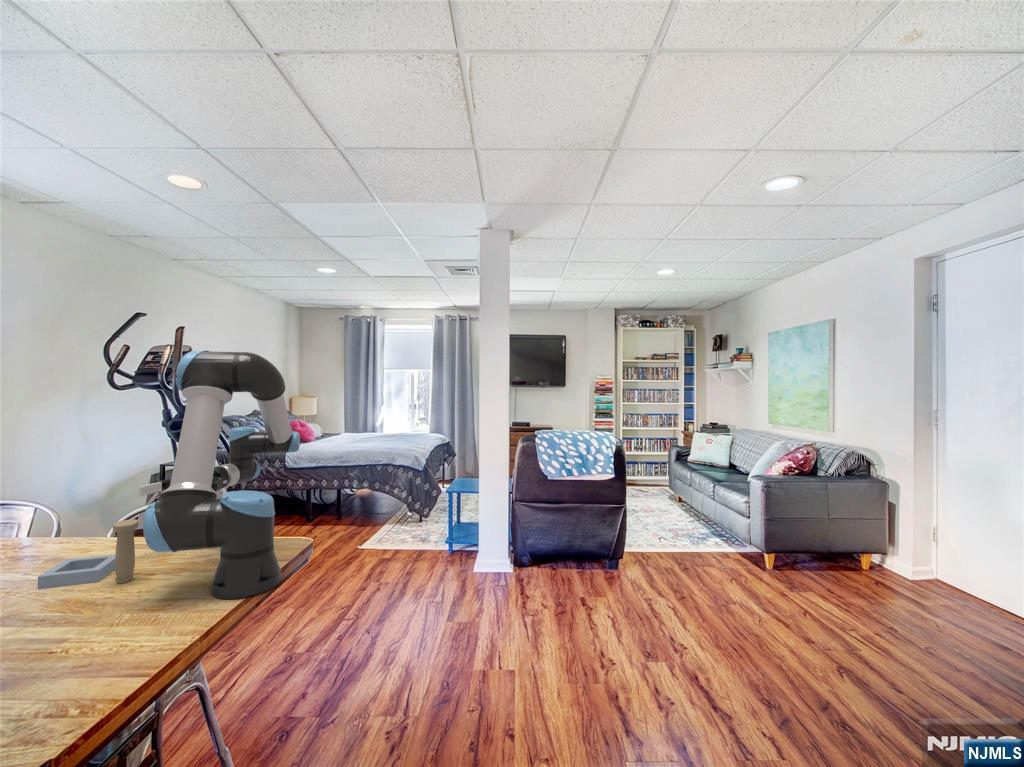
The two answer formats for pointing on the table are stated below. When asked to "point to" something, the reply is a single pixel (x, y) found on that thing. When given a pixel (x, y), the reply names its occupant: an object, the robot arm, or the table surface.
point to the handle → (125, 550)
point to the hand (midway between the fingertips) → (160, 492)
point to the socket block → (77, 571)
